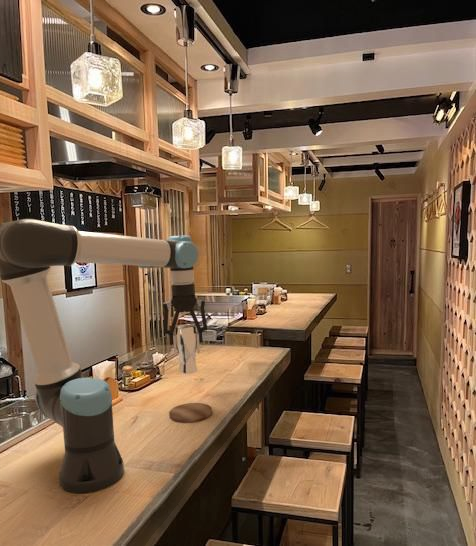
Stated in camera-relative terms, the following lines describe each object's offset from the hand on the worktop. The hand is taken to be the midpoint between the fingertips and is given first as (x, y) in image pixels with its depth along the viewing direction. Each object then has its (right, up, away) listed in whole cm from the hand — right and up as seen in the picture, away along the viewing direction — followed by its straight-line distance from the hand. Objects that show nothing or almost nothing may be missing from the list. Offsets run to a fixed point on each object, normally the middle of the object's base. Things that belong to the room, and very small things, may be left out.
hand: (187, 353), depth 146 cm
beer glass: (0, -6, 0) cm, 6 cm away
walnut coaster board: (+1, -20, +1) cm, 21 cm away
